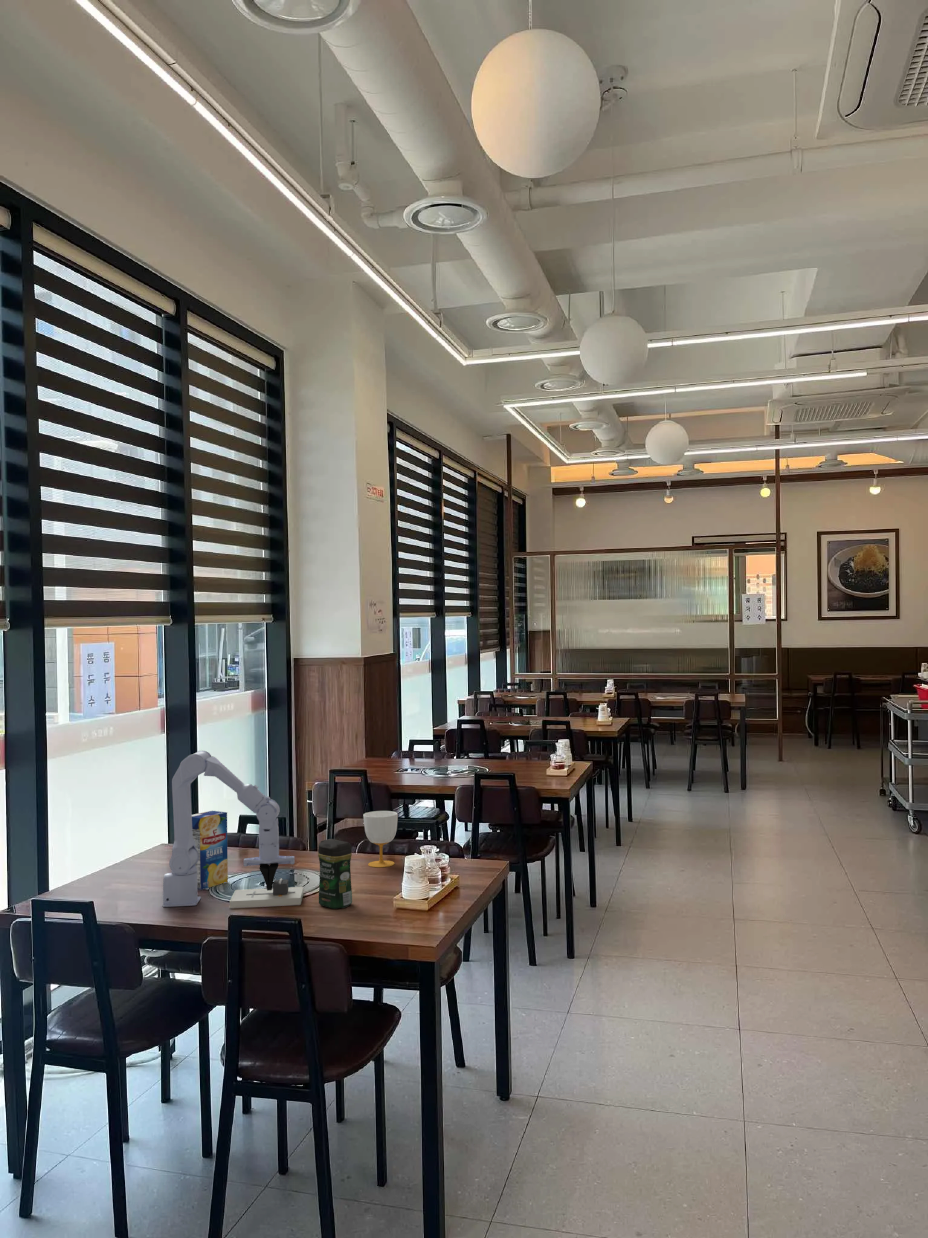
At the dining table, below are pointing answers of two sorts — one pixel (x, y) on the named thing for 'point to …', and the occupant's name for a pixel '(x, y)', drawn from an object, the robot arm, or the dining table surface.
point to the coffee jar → (335, 874)
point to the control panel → (265, 898)
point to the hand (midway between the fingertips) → (269, 889)
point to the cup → (380, 832)
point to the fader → (280, 887)
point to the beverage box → (211, 848)
